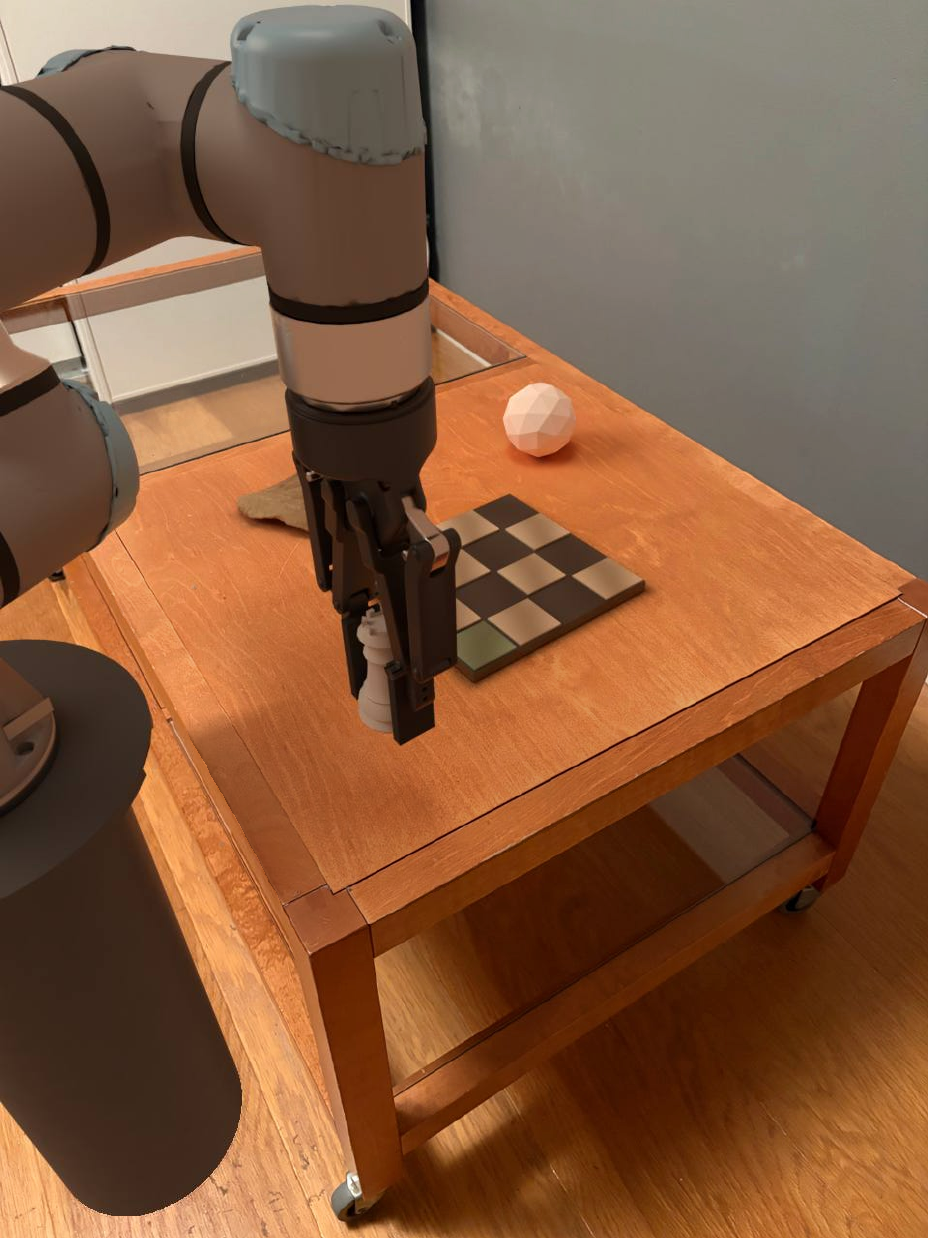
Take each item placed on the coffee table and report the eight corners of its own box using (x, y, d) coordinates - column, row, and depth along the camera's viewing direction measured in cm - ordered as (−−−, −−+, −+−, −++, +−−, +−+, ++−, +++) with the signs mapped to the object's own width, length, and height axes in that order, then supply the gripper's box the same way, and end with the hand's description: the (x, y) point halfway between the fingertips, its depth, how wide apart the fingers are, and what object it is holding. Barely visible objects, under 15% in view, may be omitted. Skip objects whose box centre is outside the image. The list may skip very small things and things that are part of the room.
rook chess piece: (380, 748, 60) (367, 652, 55) (346, 707, 63) (332, 613, 58) (439, 718, 62) (433, 624, 56) (404, 680, 64) (395, 587, 59)
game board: (473, 683, 76) (473, 672, 75) (349, 572, 88) (347, 562, 87) (645, 590, 84) (646, 579, 84) (509, 501, 97) (509, 491, 96)
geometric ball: (530, 463, 108) (534, 392, 107) (588, 459, 102) (592, 385, 102) (486, 454, 102) (490, 379, 102) (545, 450, 97) (549, 371, 96)
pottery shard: (327, 551, 93) (372, 482, 98) (313, 520, 90) (360, 450, 95) (239, 533, 97) (287, 467, 103) (222, 502, 94) (273, 436, 99)
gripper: (530, 421, 43) (521, 763, 58) (333, 307, 54) (369, 620, 69) (393, 475, 40) (421, 823, 55) (213, 342, 51) (277, 663, 66)
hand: (392, 709), depth 62 cm, fingers closed on rook chess piece, 4 cm apart
